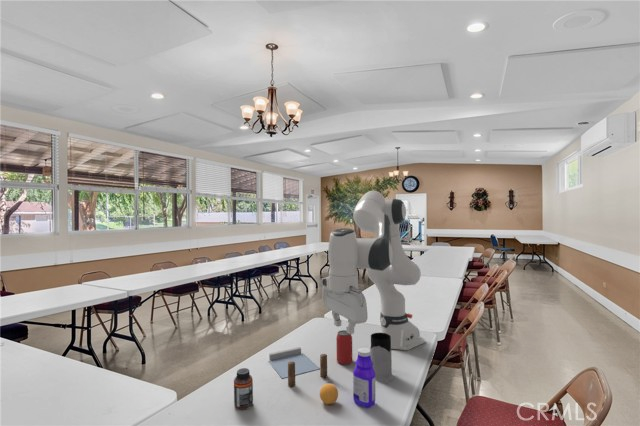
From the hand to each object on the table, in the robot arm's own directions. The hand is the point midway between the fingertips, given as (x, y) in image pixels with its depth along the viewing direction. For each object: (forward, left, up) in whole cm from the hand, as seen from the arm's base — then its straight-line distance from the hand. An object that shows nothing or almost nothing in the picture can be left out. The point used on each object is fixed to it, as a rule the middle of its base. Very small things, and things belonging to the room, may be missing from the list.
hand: (343, 329), depth 99 cm
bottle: (-10, -4, -27) cm, 30 cm away
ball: (0, -10, -24) cm, 26 cm away
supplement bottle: (+25, -22, -27) cm, 43 cm away
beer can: (-20, -33, -27) cm, 47 cm away
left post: (+7, -26, -27) cm, 38 cm away
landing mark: (0, -40, -27) cm, 48 cm away
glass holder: (-28, -18, -27) cm, 43 cm away
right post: (-6, -26, -27) cm, 38 cm away
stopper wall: (0, -49, -27) cm, 56 cm away
